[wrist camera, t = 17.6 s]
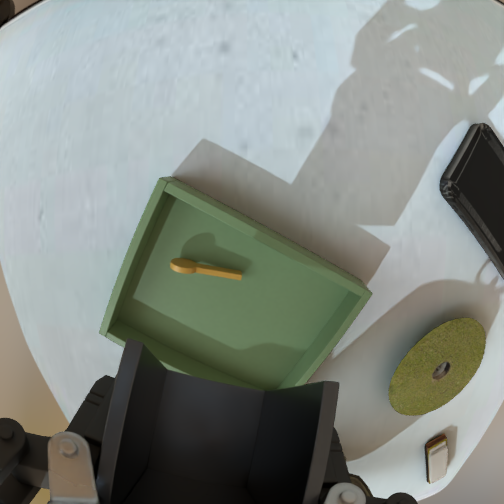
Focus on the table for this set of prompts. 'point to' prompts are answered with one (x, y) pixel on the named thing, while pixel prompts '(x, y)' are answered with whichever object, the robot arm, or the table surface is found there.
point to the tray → (228, 295)
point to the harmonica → (436, 458)
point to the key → (203, 269)
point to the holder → (211, 438)
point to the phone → (479, 189)
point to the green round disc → (437, 367)
